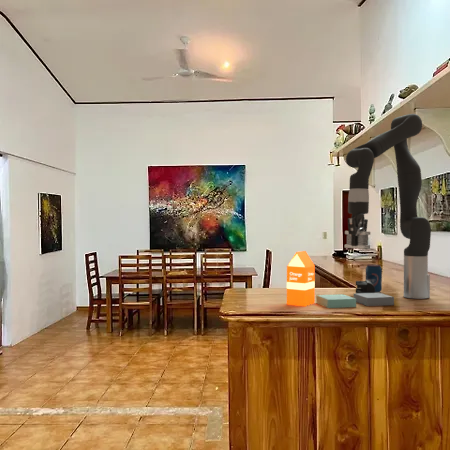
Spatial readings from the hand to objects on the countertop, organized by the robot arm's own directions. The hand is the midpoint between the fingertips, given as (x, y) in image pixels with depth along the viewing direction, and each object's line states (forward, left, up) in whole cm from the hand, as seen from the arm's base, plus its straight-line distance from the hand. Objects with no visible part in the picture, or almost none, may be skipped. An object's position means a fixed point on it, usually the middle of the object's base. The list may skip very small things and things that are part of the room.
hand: (357, 245), depth 184 cm
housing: (0, 0, -1) cm, 1 cm away
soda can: (-22, -28, -22) cm, 42 cm away
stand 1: (+9, 0, -22) cm, 24 cm away
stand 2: (-7, -1, -22) cm, 23 cm away
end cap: (-11, -15, -23) cm, 29 cm away
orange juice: (+21, -5, -22) cm, 31 cm away
